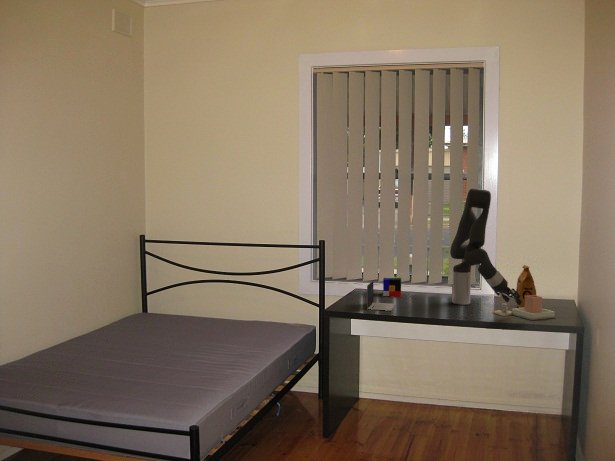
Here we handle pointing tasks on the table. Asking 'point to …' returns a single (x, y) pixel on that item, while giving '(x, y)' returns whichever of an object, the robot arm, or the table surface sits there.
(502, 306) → the candle holder
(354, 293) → the table surface
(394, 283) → the puzzle toy
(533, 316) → the tray
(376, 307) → the laptop
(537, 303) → the pink rounded block
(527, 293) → the coffee package
